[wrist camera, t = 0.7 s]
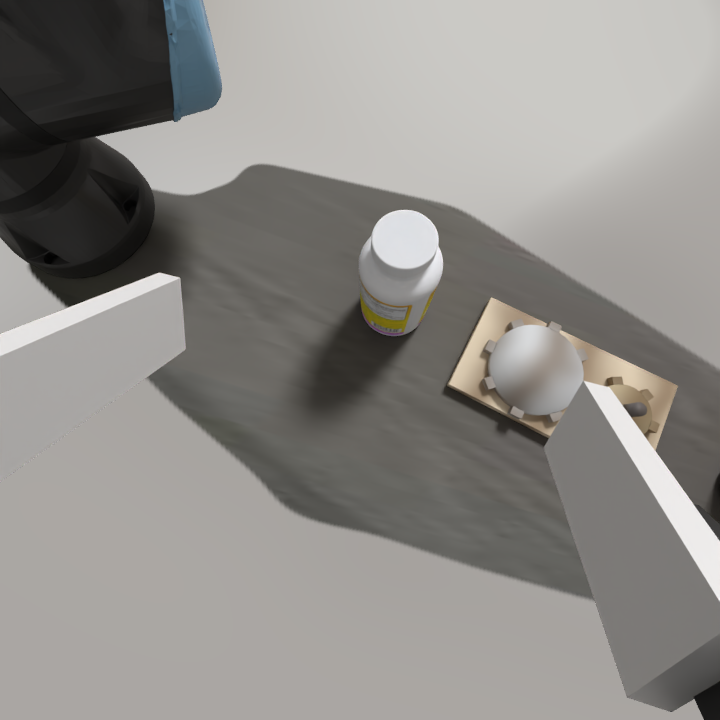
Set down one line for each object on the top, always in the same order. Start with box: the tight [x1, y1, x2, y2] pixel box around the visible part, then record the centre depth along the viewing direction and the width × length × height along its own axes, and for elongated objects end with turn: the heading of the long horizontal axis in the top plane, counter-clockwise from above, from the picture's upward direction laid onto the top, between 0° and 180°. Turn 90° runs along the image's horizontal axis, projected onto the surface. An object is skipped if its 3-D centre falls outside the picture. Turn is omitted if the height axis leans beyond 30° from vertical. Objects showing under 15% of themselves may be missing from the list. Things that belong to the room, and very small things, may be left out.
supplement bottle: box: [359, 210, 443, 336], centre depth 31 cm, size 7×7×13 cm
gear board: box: [447, 297, 678, 450], centre depth 33 cm, size 19×10×4 cm, turn 62°
